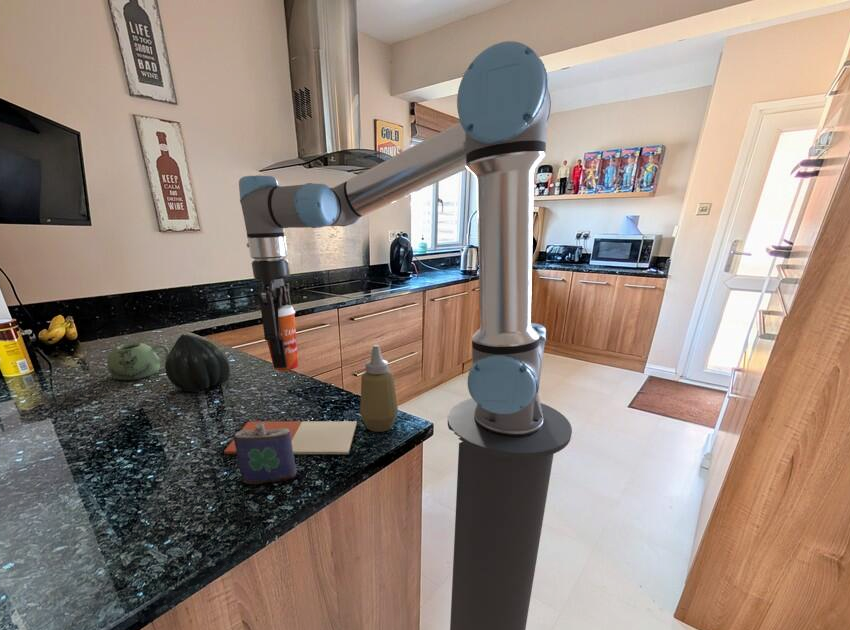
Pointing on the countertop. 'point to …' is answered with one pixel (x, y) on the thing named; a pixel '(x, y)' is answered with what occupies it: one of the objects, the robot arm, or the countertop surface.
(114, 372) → the mug
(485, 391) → the robot arm
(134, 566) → the countertop surface
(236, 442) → the flask
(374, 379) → the squeeze bottle
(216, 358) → the squash
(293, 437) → the board
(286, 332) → the paper cup
